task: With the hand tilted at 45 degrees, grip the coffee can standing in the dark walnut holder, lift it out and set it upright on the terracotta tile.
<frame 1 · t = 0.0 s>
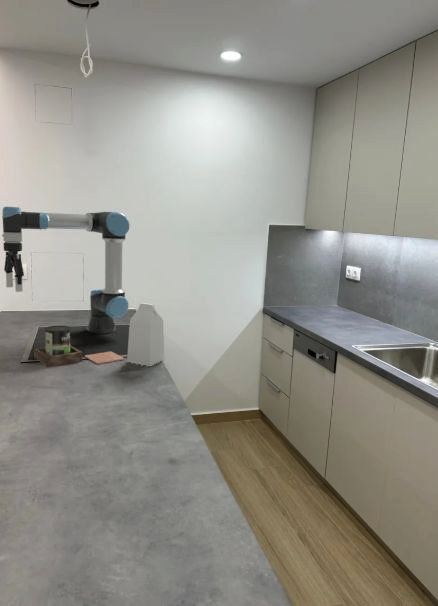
hand: (14, 289, 209), 28 cm above the worktop, tool pointing down, fingers open, 13 cm apart
holder: (58, 359, 202), on the worktop
tile: (104, 358, 206), on the worktop
milk: (145, 361, 205), on the worktop
coffee can: (58, 359, 202), resting in holder
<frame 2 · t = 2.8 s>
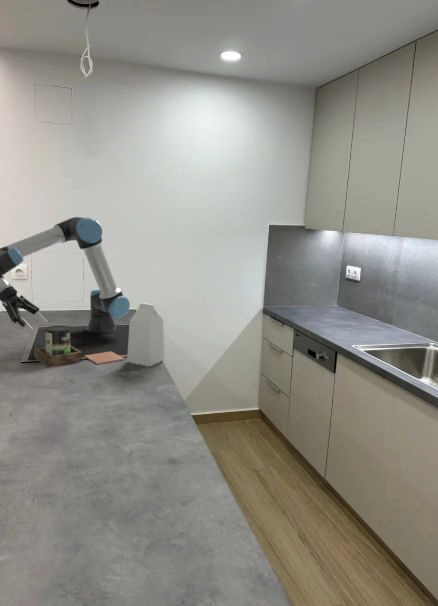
hand: (38, 327, 199), 14 cm above the worktop, tool tilted 45°, fingers open, 13 cm apart
nothing on the worktop moved.
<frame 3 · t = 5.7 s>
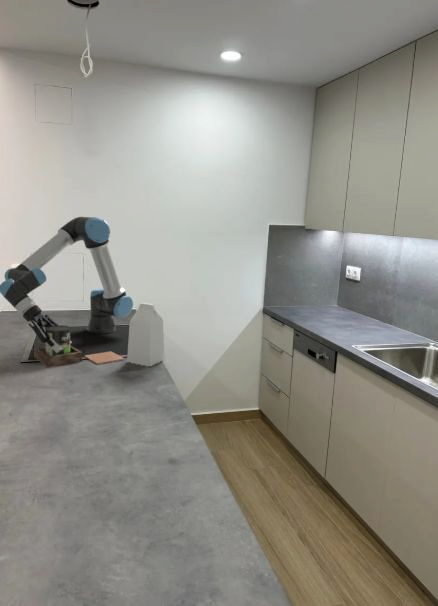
hand: (64, 347, 201), 6 cm above the worktop, tool tilted 45°, fingers closed on coffee can, 10 cm apart
coffee can: (58, 359, 202), resting in holder, touching gripper
everything else where it was.
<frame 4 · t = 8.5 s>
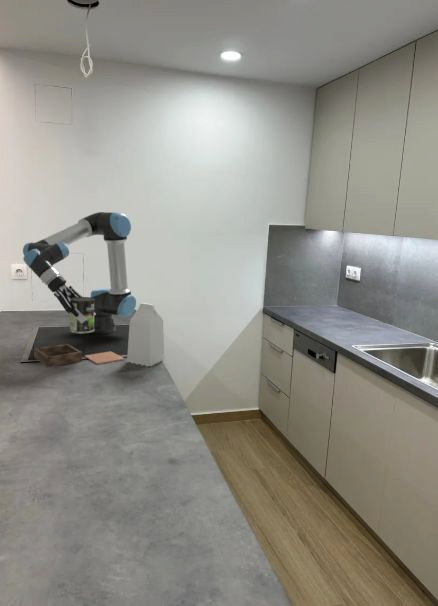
hand: (88, 318, 199), 19 cm above the worktop, tool tilted 45°, fingers closed on coffee can, 10 cm apart
coffee can: (82, 331, 201), point 13 cm above the worktop, touching gripper
everything else where it was.
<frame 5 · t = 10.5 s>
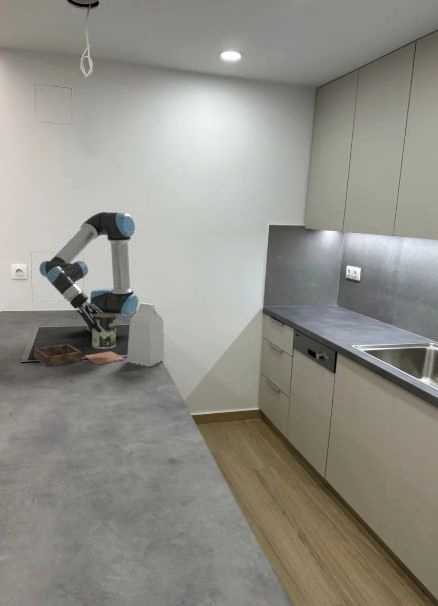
hand: (110, 334, 204), 11 cm above the worktop, tool tilted 45°, fingers closed on coffee can, 10 cm apart
coffee can: (103, 346, 205), point 6 cm above the worktop, touching gripper
everything else where it was.
when the fingers open (8 cm above the worktop, at t = 11.8 s): coffee can drops 1 cm, resting on tile.
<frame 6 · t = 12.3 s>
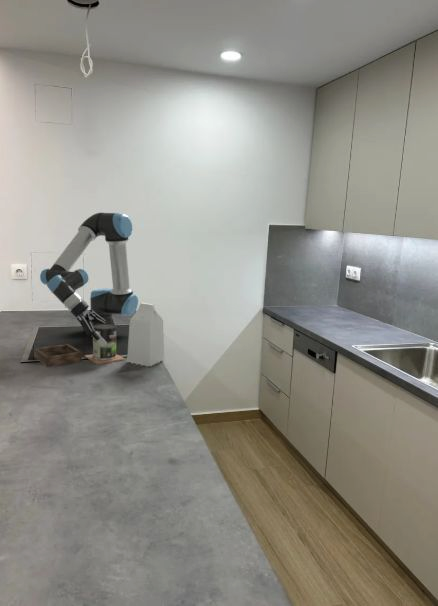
hand: (109, 340, 205), 8 cm above the worktop, tool tilted 45°, fingers open, 13 cm apart
coffee can: (104, 357, 206), resting on tile
everything else where it was.
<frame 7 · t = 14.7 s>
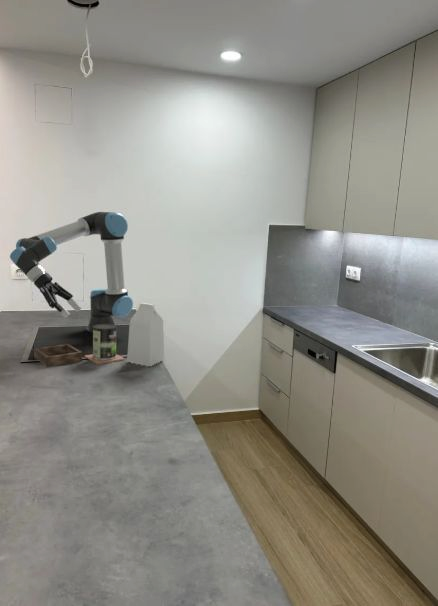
hand: (73, 313, 204), 20 cm above the worktop, tool tilted 45°, fingers open, 13 cm apart
nothing on the worktop moved.
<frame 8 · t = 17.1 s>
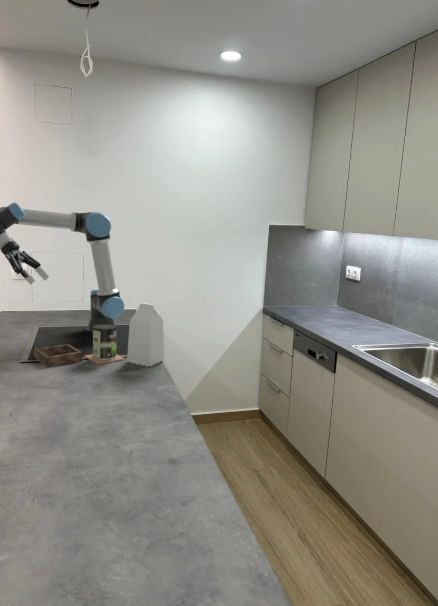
hand: (40, 280, 207), 33 cm above the worktop, tool tilted 45°, fingers open, 13 cm apart
nothing on the worktop moved.
at the end: coffee can inside the target area on the tile (0.3 cm from its centre), point 0.4 cm above the tile's base; coffee can tilted 0°; coffee can touching tile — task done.
